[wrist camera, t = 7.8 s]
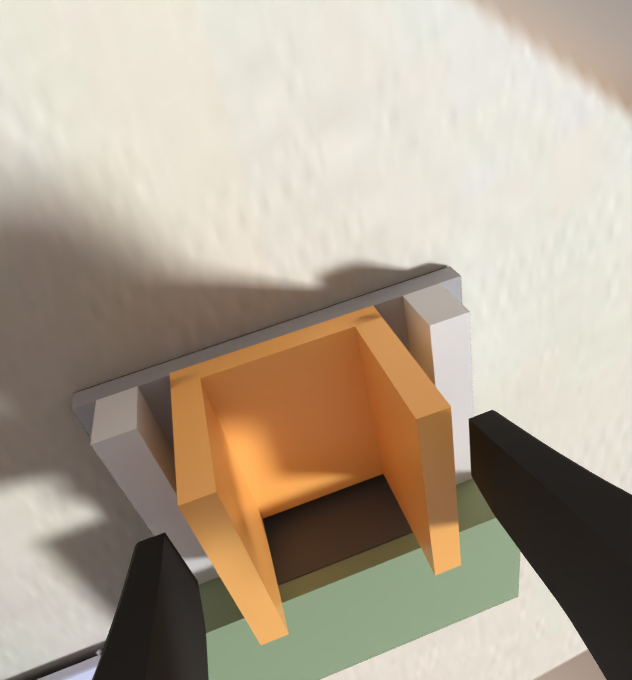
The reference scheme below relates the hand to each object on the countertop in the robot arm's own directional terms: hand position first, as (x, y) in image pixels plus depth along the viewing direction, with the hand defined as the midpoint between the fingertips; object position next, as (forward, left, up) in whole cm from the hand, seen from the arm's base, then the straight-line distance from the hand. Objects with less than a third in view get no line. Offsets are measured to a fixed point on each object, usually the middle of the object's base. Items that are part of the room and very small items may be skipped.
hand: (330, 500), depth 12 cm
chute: (0, 0, -3) cm, 3 cm away
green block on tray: (0, -3, -3) cm, 5 cm away
